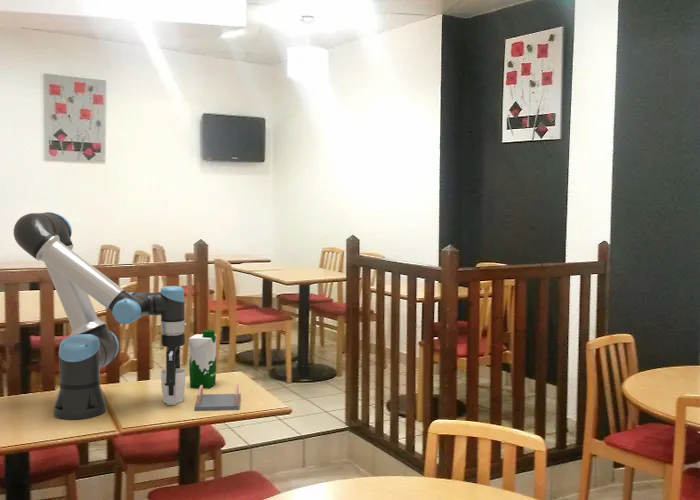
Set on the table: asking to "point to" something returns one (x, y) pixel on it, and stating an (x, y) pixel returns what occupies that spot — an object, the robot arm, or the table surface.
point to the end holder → (217, 401)
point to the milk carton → (202, 359)
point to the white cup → (178, 382)
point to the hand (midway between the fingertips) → (173, 400)
